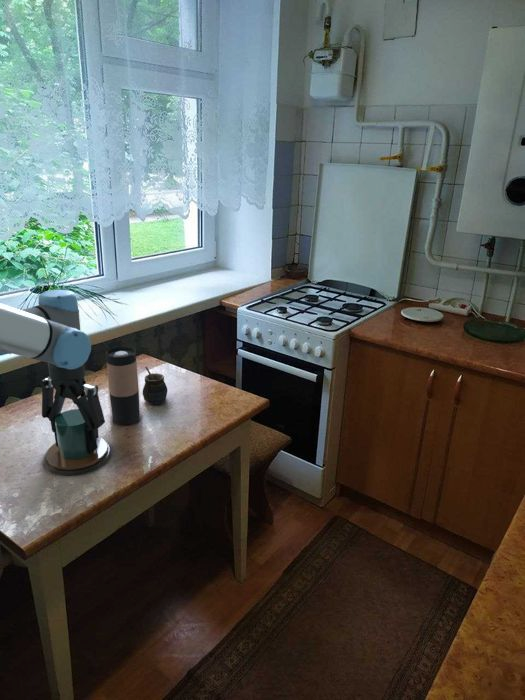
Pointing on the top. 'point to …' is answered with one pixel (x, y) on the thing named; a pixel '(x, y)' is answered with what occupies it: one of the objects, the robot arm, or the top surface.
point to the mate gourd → (154, 388)
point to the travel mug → (123, 385)
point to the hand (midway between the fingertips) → (76, 446)
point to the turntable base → (78, 471)
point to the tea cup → (73, 444)
